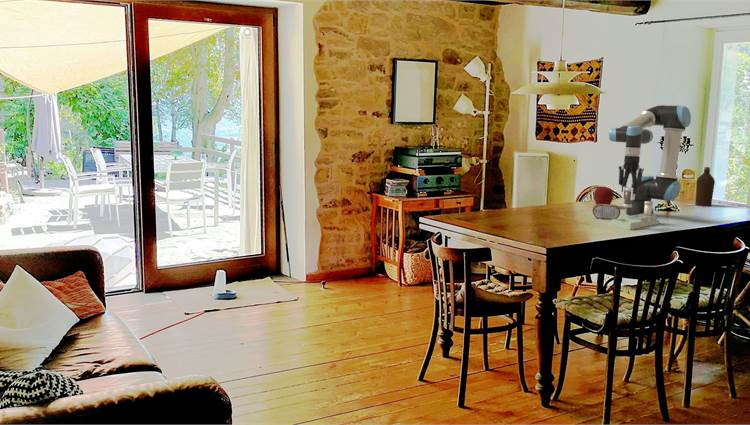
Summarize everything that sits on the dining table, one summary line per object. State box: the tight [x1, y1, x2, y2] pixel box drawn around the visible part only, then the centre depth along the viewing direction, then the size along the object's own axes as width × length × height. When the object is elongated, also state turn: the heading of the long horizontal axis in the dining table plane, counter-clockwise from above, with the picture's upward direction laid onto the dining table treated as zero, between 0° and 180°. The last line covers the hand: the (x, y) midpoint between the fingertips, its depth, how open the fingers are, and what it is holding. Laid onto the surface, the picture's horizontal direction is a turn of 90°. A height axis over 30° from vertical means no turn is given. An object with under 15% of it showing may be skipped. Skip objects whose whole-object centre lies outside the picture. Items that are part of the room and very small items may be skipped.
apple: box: [593, 186, 615, 205], centre depth 430 cm, size 12×12×13 cm
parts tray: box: [609, 217, 644, 230], centre depth 366 cm, size 12×12×4 cm
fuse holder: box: [627, 214, 660, 227], centre depth 376 cm, size 10×17×4 cm, turn 128°
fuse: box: [644, 200, 654, 216], centre depth 378 cm, size 4×4×10 cm
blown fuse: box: [623, 187, 632, 208], centre depth 364 cm, size 4×4×10 cm
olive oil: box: [695, 166, 716, 207], centre depth 444 cm, size 11×11×25 cm
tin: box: [592, 204, 621, 220], centre depth 388 cm, size 15×3×8 cm, turn 74°
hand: (628, 199), depth 364 cm, fingers closed on blown fuse, 4 cm apart
